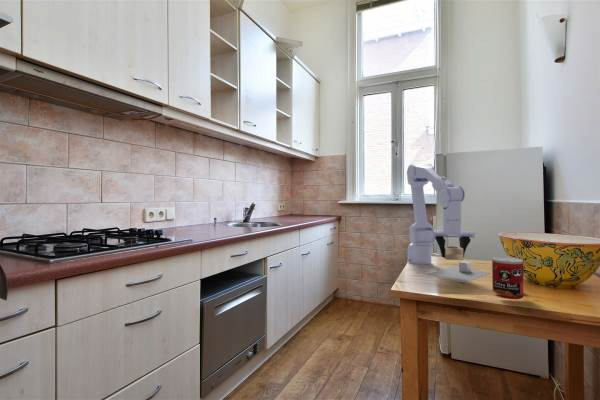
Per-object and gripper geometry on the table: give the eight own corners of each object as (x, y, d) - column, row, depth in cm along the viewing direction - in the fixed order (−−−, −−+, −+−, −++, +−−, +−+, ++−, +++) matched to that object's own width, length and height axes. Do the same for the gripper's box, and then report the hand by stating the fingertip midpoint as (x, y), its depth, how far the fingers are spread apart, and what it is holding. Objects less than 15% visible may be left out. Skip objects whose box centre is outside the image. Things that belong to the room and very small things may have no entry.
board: (426, 277, 110) (426, 274, 110) (453, 268, 122) (453, 266, 122) (465, 286, 99) (464, 282, 99) (491, 276, 111) (491, 272, 111)
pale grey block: (459, 271, 114) (459, 262, 114) (463, 269, 116) (462, 260, 115) (467, 272, 111) (467, 263, 111) (471, 271, 113) (471, 262, 113)
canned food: (489, 295, 90) (489, 259, 90) (495, 289, 95) (495, 255, 95) (520, 301, 84) (520, 263, 84) (525, 294, 90) (525, 258, 90)
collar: (446, 259, 106) (446, 248, 106) (442, 256, 111) (442, 245, 111) (463, 260, 105) (463, 248, 104) (458, 256, 110) (458, 246, 110)
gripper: (433, 220, 105) (433, 258, 106) (478, 220, 102) (478, 260, 102) (429, 219, 112) (429, 254, 113) (471, 219, 109) (471, 256, 109)
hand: (452, 257), depth 108 cm, fingers closed on collar, 6 cm apart
